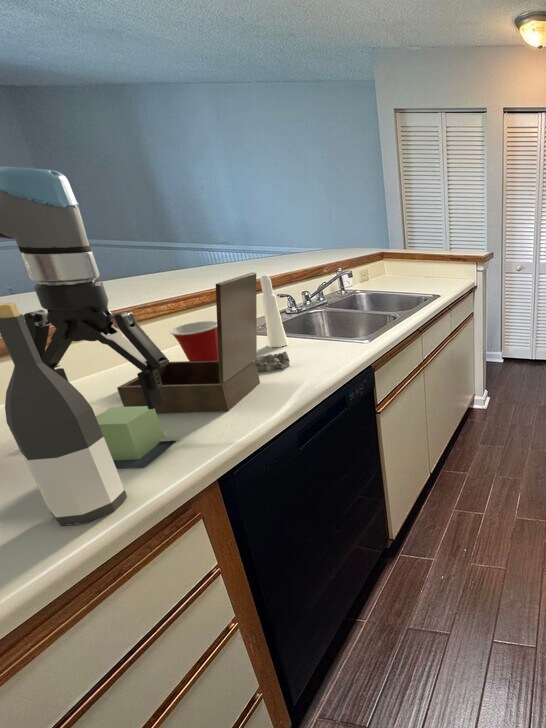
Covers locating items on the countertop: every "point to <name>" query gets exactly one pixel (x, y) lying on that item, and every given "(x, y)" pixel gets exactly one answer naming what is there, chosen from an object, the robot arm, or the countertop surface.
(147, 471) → the countertop surface
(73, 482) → the wine bottle
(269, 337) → the white tapered tower
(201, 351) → the plastic cup
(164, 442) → the mat
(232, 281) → the lid
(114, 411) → the cube
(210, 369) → the chest
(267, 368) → the grey rock
